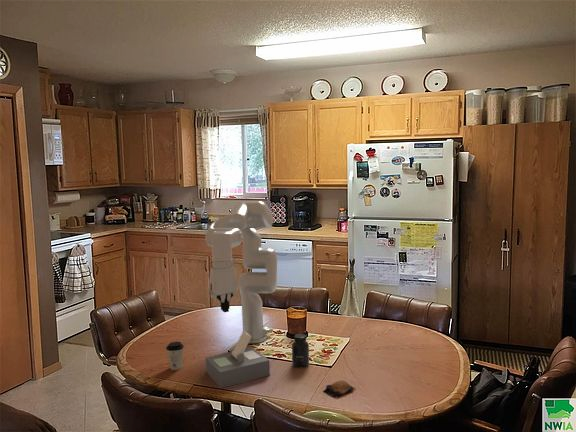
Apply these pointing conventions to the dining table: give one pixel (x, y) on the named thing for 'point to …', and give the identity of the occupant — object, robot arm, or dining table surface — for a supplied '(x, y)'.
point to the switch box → (237, 367)
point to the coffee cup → (175, 355)
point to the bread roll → (338, 389)
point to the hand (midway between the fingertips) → (225, 311)
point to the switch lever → (241, 344)
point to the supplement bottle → (300, 351)
